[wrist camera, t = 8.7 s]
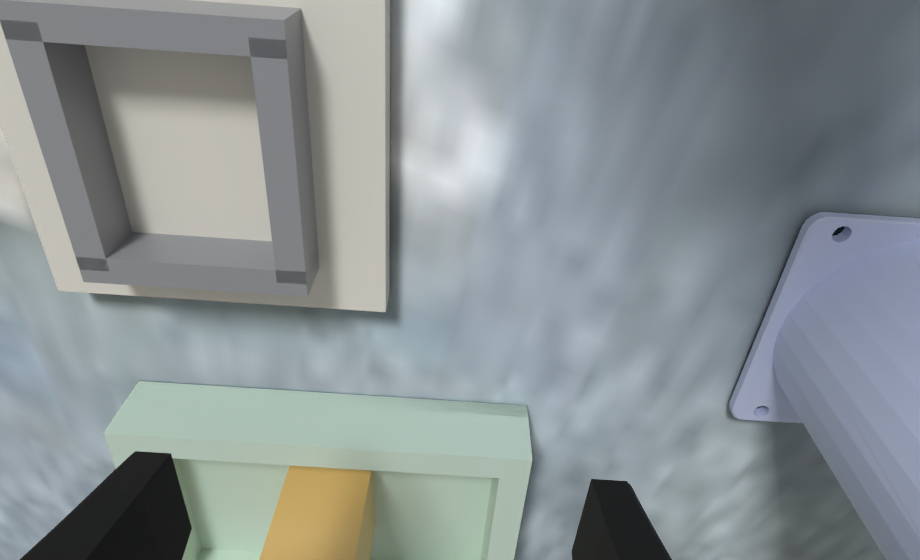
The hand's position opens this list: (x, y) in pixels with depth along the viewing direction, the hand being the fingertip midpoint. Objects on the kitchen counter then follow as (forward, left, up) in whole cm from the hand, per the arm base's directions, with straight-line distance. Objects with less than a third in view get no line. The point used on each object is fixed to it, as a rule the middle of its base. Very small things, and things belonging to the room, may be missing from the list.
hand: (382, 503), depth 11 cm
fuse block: (+6, -3, -9) cm, 12 cm away
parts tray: (+3, +12, -9) cm, 15 cm away
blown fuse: (+3, +11, -9) cm, 14 cm away
